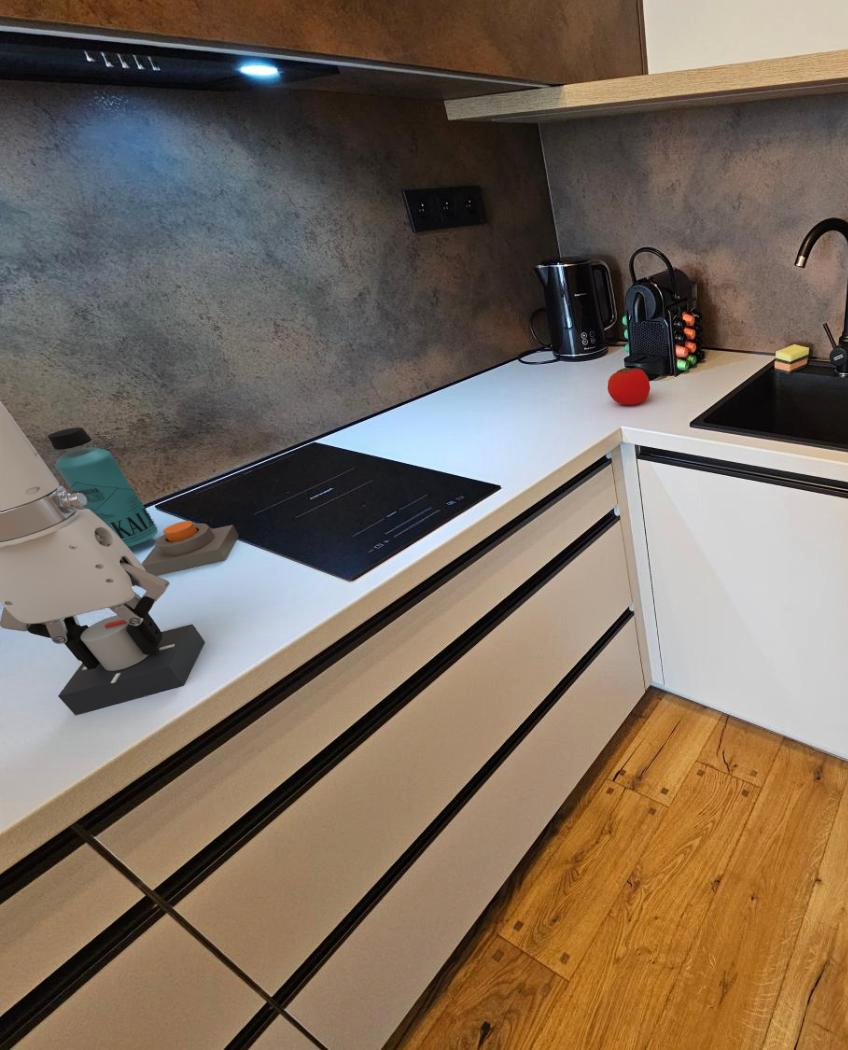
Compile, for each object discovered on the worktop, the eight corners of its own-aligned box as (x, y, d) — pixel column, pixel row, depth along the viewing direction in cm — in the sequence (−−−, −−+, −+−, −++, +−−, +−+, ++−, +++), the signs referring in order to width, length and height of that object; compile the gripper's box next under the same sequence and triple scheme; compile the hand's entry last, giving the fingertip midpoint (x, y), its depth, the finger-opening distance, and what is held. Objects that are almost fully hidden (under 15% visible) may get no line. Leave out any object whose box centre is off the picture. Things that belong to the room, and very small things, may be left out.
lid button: (165, 545, 87) (159, 535, 86) (174, 534, 90) (167, 524, 89) (193, 539, 88) (187, 529, 87) (201, 528, 91) (195, 518, 90)
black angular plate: (73, 717, 63) (55, 697, 62) (108, 665, 70) (92, 646, 69) (182, 687, 66) (167, 667, 65) (205, 640, 73) (193, 621, 72)
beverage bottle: (121, 542, 96) (43, 429, 86) (170, 530, 99) (100, 419, 88) (108, 561, 91) (23, 443, 81) (160, 549, 94) (84, 432, 83)
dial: (97, 676, 64) (70, 643, 62) (114, 650, 68) (89, 619, 65) (145, 663, 66) (120, 631, 63) (159, 639, 69) (136, 607, 67)
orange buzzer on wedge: (147, 578, 86) (132, 556, 84) (167, 551, 93) (153, 530, 91) (225, 560, 89) (212, 538, 87) (239, 535, 96) (227, 514, 94)
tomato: (659, 401, 139) (656, 366, 135) (624, 413, 134) (619, 377, 129) (637, 393, 145) (633, 359, 141) (602, 404, 140) (597, 369, 136)
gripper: (139, 481, 62) (222, 613, 72) (-67, 519, 58) (51, 655, 67) (108, 512, 56) (203, 651, 66) (-125, 557, 51) (14, 701, 61)
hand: (126, 652), depth 66 cm, fingers closed on dial, 4 cm apart
